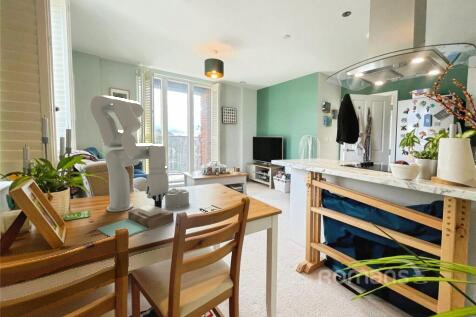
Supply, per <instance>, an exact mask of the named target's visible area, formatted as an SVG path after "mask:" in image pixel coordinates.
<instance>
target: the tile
mask: <svg viewBox="0 0 476 317" xmlns="http://www.w3.org/2000/svg"><path fill="white" fill-rule="evenodd" d="M153 205H154V204H147V205H141V206H140V207H138V212H140V213H142V214H145V215H148V216H152V215H155V214H158V213H161V208H159V207H156V206H155V205H154V206H153Z"/></svg>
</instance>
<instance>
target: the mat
mask: <svg viewBox="0 0 476 317" xmlns="http://www.w3.org/2000/svg"><path fill="white" fill-rule="evenodd" d="M121 228H128V230H129V237H131V236H133V235H137V234H139V233H142V232H145V231H147V230H149V229H148V228H147V227H145V226H143V225H141V224H139V223H136V222H134V221H132V220H130V219H128V218H126V219H124V220H120V221H116V222H112V223H109V224H107V225H103V226H101V227H97V230H98V231H99V232H101V233H103V234H104V235H106V236H107V235H108V237H109V236H113V235H114V234H115V230H116V229H121Z"/></svg>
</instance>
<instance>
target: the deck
mask: <svg viewBox="0 0 476 317" xmlns="http://www.w3.org/2000/svg"><path fill="white" fill-rule="evenodd" d="M152 205H153V206H155V205H154V204H152ZM138 208H139V207H138ZM138 208H134V209H133V208H132V209H129V210H127V214H128V215H127V216H128V218H127V219H130V220H132V221H134V222H136V223H139V224H141V225H143V226H145V227H147V228H148V229H147V230H153V229H155V228H158V227H161V226H163V225H165V224H169V223H171V222H174V215H175V214H174V212H173V211H170V210H167V209H166V208H163V207H162V208H161V213H158V214H155V215H152V216H148V215H145V214H142V213H140V212H138Z"/></svg>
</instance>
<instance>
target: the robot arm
mask: <svg viewBox="0 0 476 317" xmlns="http://www.w3.org/2000/svg"><path fill="white" fill-rule="evenodd" d="M89 106H90V108H89V109H90V112H91V115H92V117H93V118H94V120H95V122H96V124H97V127H98V129H99V133H100V136H101V139H102V142H103V145H104V146H105V147H106V148H108V149H113V150H109V151H108V152H107V153H106V155H105V156H104V158H105V164H106V167H107V172H108V173H107V174H108V190H109V191H108V192H109V193H108V194H109V205H107V207H106V210H107V212H112V213H117V212H118V213H119V212H124V211H130V210H132V209H133V208H134V203H133V202H131V190H130V174H129V172H128V170H127V169H126V167H133V166H137V165H139V164H140V162H141V160H148V173H146V179H145V194H146V195H147V196H146V198H147V199H150V200H151V199H152V200H153V202H154V204H153V205H154V206H156V207H159V208H162V209H163V207H162V206H163V200H164V198H165V195H166V194H168V191H169V190H170V188H169V187H170V185H169V177H168V173H167V170H168V167H167V166H166V165H167V163H166V161H167V160H166V146H165V145H164V144H154V143H137V141H136V137H135V135H134V133H135V132H137V131H138V130H140V128H141V127H142V123H141V121H140V120H139V118H140V117H142V115H143V112H144V110H143V106H142V104H141V103H139V102H138V101H134V100H131V99H127V98H123V97H122V98H121V97H116V96H112V95H111V96H110V95H103V94H98V95H94V96H93V97H92V98H91V100H90V105H89ZM109 113H110V114H109ZM111 114H115V116H116V117H117V120H118V122H119V124H120V125H121V127H122V129H123V130H120V128H119V127H118V125H117V122H116V120H115V119H114V118H113V116H111Z"/></svg>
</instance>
